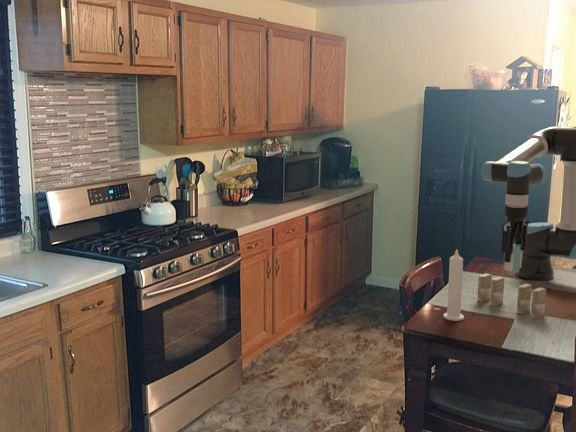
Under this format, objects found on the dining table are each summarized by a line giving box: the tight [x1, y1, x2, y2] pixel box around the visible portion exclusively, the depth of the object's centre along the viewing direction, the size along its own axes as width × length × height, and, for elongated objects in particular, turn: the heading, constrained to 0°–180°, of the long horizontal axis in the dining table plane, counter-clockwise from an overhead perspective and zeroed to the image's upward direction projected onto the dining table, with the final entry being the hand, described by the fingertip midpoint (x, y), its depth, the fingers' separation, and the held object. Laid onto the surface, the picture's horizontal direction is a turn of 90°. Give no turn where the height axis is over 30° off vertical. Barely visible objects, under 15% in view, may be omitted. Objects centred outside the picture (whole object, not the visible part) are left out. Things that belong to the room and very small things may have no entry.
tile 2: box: [516, 283, 533, 315], centre depth 212 cm, size 2×5×10 cm, turn 128°
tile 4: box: [489, 276, 505, 307], centre depth 221 cm, size 2×5×10 cm, turn 128°
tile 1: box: [530, 287, 547, 320], centre depth 208 cm, size 2×5×10 cm, turn 128°
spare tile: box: [505, 243, 521, 275], centre depth 211 cm, size 2×5×10 cm, turn 128°
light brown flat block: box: [477, 272, 492, 303], centre depth 225 cm, size 2×5×10 cm, turn 128°
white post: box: [443, 249, 465, 322], centre depth 206 cm, size 7×7×25 cm
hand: (512, 268), depth 212 cm, fingers closed on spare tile, 5 cm apart
